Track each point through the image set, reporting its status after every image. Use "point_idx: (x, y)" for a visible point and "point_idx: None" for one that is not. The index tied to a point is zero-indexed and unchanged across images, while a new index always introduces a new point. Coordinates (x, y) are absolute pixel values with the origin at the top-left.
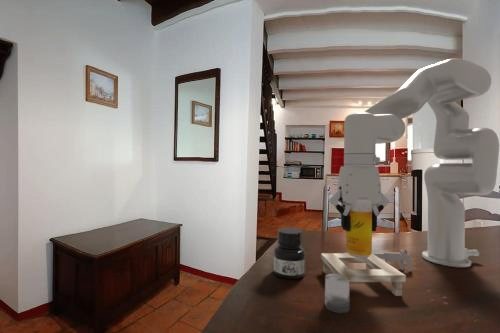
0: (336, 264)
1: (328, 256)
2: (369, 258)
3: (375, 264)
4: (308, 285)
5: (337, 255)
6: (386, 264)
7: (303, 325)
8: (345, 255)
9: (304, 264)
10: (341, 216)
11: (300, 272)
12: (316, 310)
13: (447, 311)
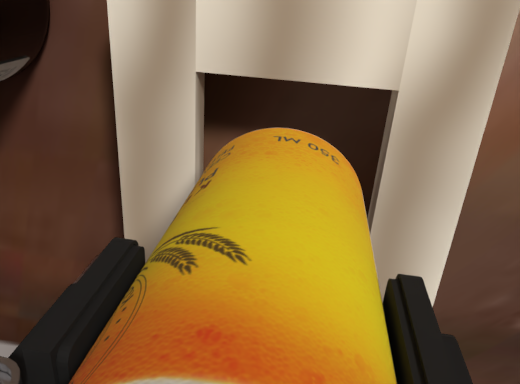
0: (147, 176)
1: (141, 42)
2: (411, 110)
3: (376, 203)
4: (54, 137)
5: (211, 29)
6: (443, 213)
7: (14, 336)
8: (271, 33)
9: (4, 57)
10: (13, 360)
11: (3, 77)
12: (57, 289)
13: (469, 359)
